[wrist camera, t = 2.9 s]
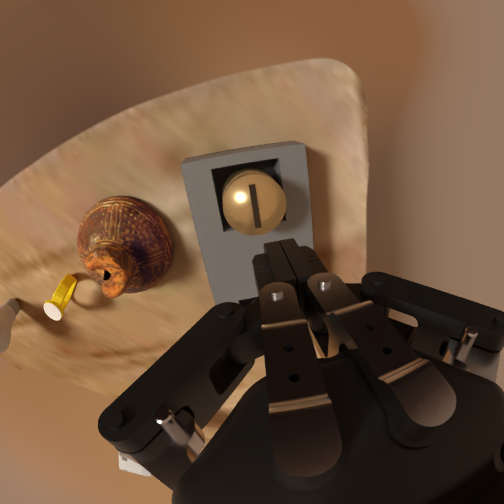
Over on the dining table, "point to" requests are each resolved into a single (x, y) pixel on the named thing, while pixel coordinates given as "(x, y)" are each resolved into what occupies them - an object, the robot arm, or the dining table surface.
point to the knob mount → (228, 239)
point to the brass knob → (253, 201)
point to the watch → (60, 298)
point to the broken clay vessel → (124, 245)
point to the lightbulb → (7, 322)
